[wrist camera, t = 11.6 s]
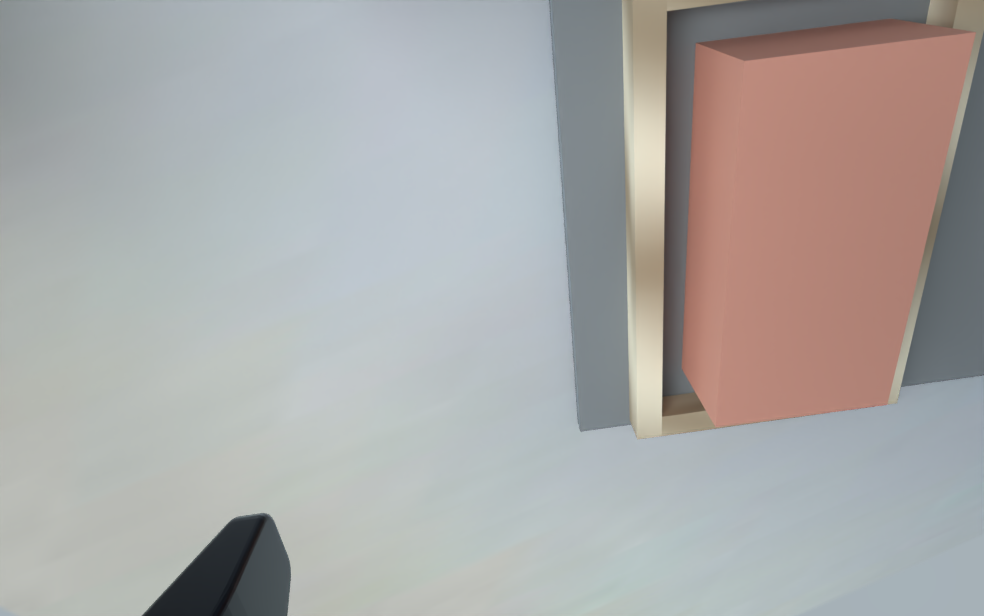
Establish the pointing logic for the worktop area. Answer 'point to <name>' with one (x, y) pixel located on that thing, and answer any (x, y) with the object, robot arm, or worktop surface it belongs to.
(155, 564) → the worktop surface
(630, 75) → the slot frame
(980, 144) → the mat
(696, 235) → the card deck
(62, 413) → the worktop surface
